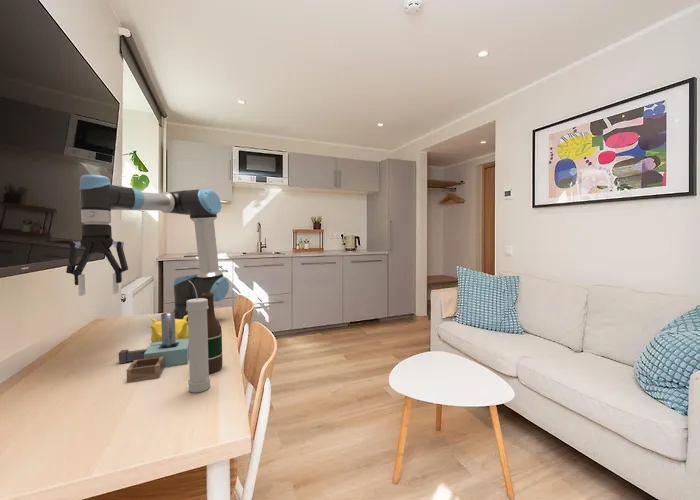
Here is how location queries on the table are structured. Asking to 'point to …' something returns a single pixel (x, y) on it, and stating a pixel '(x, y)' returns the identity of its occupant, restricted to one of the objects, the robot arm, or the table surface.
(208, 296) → the beer bottle
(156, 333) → the teapot
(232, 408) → the table surface
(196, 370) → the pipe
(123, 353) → the block
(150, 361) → the brown wooden tray
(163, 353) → the chuck block
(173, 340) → the cylinder
